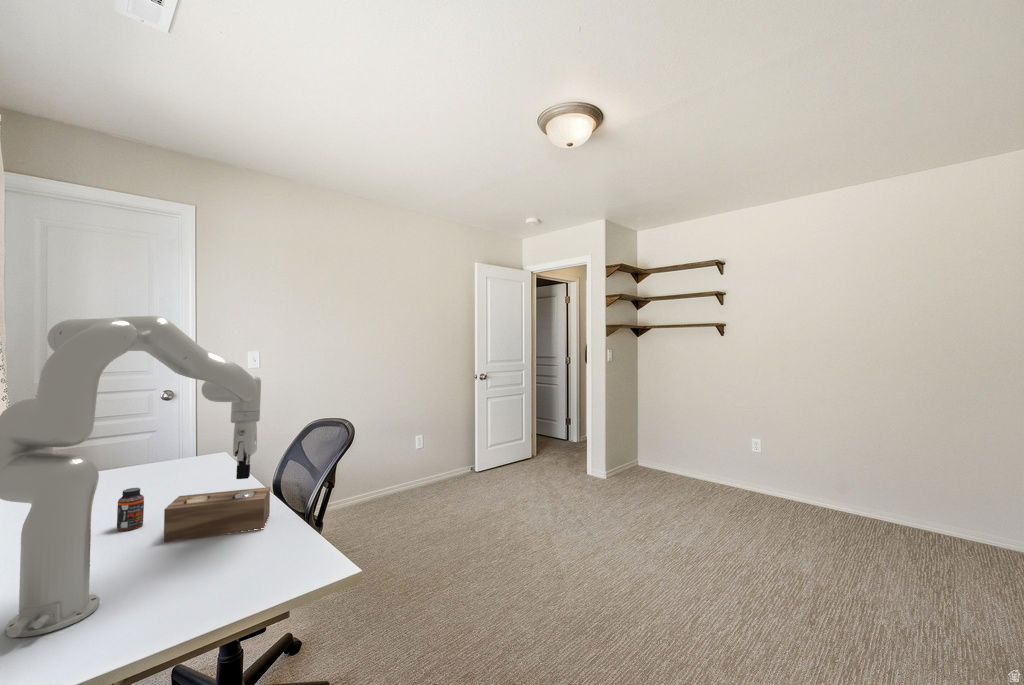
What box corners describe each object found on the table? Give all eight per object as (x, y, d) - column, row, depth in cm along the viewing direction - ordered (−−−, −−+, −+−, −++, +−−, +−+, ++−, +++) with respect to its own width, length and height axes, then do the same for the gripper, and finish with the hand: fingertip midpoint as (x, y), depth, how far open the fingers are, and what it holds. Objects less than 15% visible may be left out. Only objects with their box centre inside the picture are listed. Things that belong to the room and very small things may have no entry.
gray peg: (252, 525, 130) (252, 495, 130) (232, 528, 128) (233, 497, 129) (255, 520, 135) (255, 490, 135) (236, 522, 133) (236, 492, 133)
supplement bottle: (127, 532, 126) (128, 493, 126) (111, 531, 127) (112, 491, 127) (148, 524, 132) (149, 487, 132) (132, 523, 133) (133, 485, 133)
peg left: (204, 532, 126) (204, 500, 126) (183, 534, 124) (184, 502, 124) (209, 525, 130) (209, 495, 131) (188, 528, 128) (189, 497, 129)
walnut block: (263, 529, 128) (263, 498, 128) (163, 542, 119) (164, 509, 120) (269, 515, 139) (269, 487, 140) (178, 526, 130) (179, 496, 131)
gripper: (255, 419, 127) (252, 483, 126) (263, 414, 141) (261, 471, 140) (225, 420, 124) (222, 485, 123) (236, 414, 138) (234, 473, 137)
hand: (243, 478), depth 131 cm, fingers closed
